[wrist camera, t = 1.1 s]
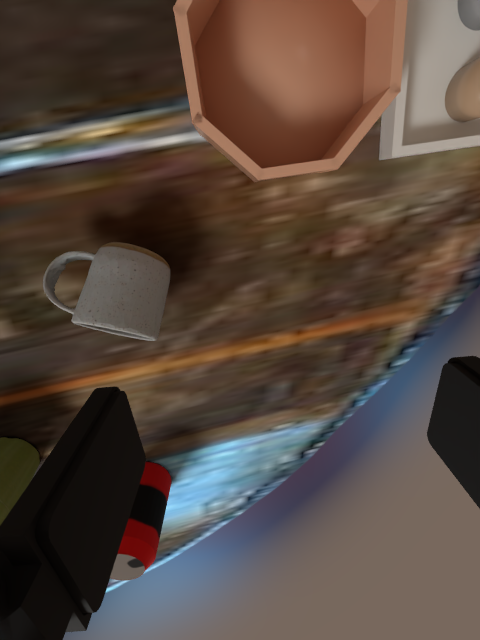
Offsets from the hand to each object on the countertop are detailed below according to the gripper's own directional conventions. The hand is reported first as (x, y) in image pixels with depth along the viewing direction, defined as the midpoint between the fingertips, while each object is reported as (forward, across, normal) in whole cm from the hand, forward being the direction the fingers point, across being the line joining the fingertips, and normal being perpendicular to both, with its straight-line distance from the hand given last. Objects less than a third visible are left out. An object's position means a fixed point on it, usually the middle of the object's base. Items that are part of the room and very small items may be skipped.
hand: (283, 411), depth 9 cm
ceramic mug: (+25, +14, +2) cm, 29 cm away
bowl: (+25, -4, -15) cm, 29 cm away
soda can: (+25, +18, +34) cm, 46 cm away
